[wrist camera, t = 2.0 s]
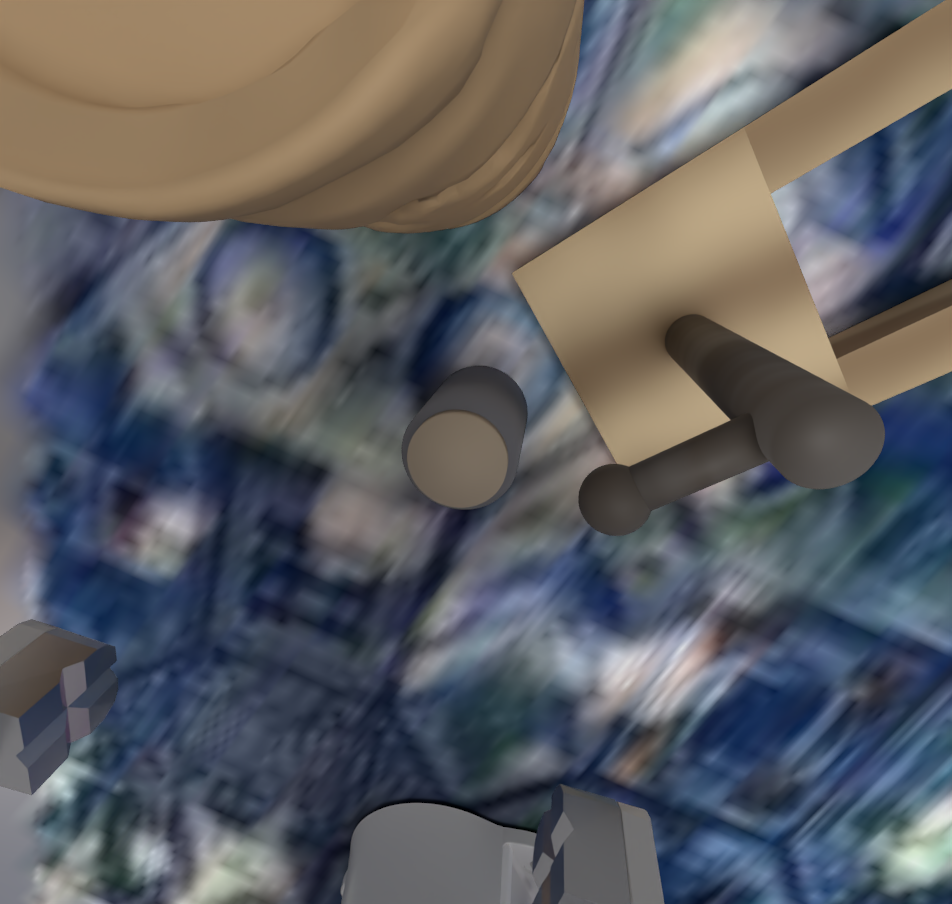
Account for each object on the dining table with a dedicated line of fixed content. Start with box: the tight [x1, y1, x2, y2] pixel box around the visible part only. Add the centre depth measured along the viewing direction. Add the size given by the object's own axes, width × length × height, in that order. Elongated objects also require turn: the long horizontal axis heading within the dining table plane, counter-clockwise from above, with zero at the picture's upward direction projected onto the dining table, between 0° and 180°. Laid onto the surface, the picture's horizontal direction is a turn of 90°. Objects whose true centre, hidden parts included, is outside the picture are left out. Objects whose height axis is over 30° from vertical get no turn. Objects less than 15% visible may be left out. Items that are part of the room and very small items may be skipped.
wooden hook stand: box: [512, 0, 952, 536], centre depth 16 cm, size 12×16×14 cm
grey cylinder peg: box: [402, 366, 528, 510], centre depth 24 cm, size 5×5×7 cm
